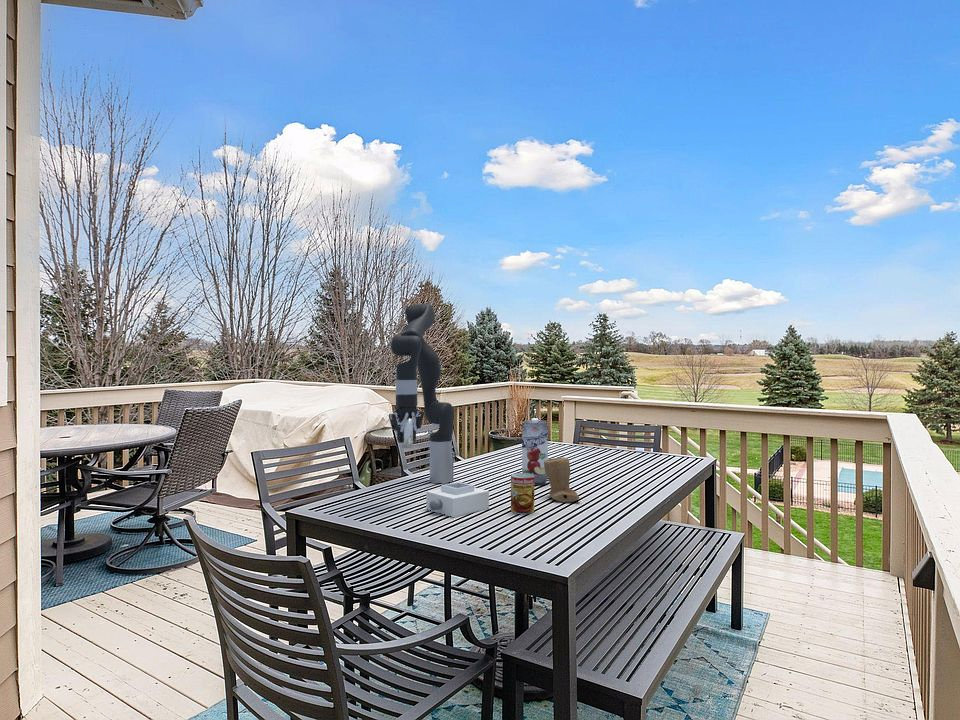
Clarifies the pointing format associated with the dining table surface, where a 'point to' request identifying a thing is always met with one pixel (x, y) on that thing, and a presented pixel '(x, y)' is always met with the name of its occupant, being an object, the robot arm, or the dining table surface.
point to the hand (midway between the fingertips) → (406, 441)
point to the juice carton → (535, 449)
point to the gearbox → (457, 499)
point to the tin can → (408, 434)
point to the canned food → (522, 493)
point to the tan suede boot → (560, 479)
